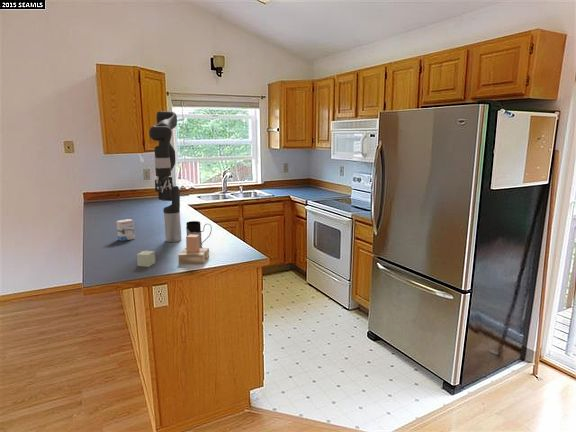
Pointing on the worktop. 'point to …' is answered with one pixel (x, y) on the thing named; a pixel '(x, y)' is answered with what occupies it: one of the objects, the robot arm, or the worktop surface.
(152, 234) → the worktop surface
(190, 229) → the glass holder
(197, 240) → the terracotta block
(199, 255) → the birch block
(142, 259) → the sage cube
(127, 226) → the ink box
